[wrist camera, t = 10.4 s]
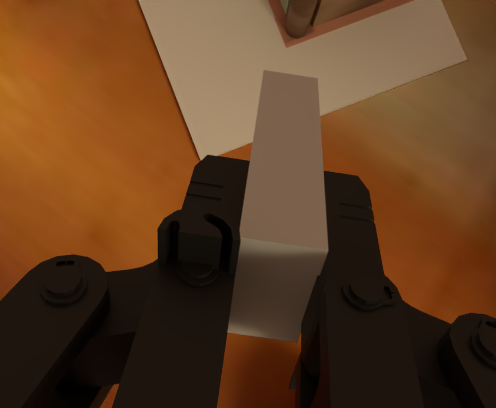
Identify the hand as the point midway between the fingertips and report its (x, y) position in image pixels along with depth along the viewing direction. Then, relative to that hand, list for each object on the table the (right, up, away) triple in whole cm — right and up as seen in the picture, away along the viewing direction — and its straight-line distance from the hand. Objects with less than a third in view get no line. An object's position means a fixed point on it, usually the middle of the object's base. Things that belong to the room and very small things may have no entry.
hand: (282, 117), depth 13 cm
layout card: (+3, +16, +27) cm, 32 cm away
